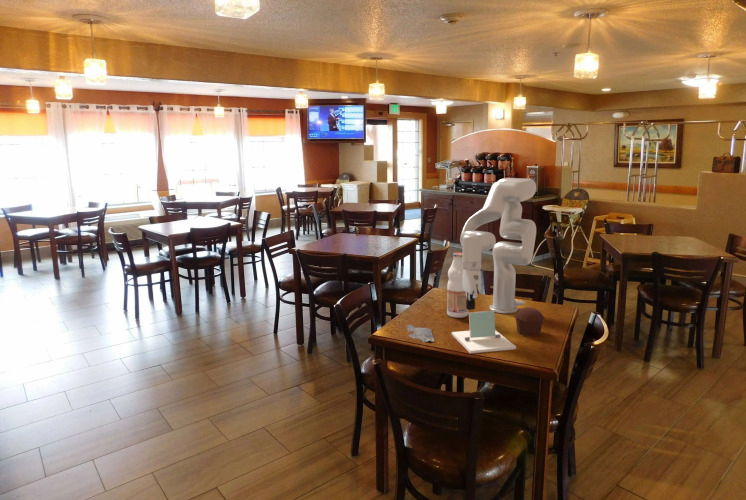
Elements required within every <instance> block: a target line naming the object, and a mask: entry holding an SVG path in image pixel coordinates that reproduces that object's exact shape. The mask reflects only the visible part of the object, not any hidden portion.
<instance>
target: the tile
mask: <svg viewBox="0 0 746 500" xmlns="http://www.w3.org/2000/svg"><path fill="white" fill-rule="evenodd" d="M495 317H496V314H495V312H494V311H491V310H483V311H482V310H481V311H473V312H468V322H469V323H468V325H469V330H468V331H470V338H476V337H487V336H495V330H496V320H495Z"/></svg>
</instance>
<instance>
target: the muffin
mask: <svg viewBox="0 0 746 500" xmlns="http://www.w3.org/2000/svg"><path fill="white" fill-rule="evenodd" d="M514 318H515V321H516V322H515V324H516V333H518V334H519V335H522V336H525V337H538V336H540V335H541V332H542V327H543V323H544V321H545V318H546V317H545V316H544V315H543V314H542V312H541V311H540V310H538V309H537V308H534V307H522V308H521V309H518V311H517V312H516V313H515V314H514Z"/></svg>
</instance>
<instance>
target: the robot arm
mask: <svg viewBox="0 0 746 500" xmlns="http://www.w3.org/2000/svg"><path fill="white" fill-rule="evenodd" d="M536 191H537V184H536V182H535V180H533V179H532V178H523V177H522V178H519V177H518V178H517V177H504V178H501V179H499V180H497V181H495V182H494V183H493V184H492V185H491V187H490V190H489V192H488V194H487V197H486V199H485V201H484V204H483V207H481V209H480V210H478V211H477V212H475V213H474V214H473V215H472V216H470V217H469V218H468V219H467V221H466V222H465V223H464V226H463V228H462V230H461V233H460V238H459V241H460V242H459V243H460V246H462V249H461V250H462V252H461V253H462V269H463V276H462V288H463V289H464V290H465V292H466V309H468V311H470V310H475V309H476V299H477V298H478V294H479V295H482V293H483V292H482V291H483V289H482V288H483V287H482V286H483V285H482V272H481V270H482V254H483V253H482V251H483V252H484V251H486V252H487V251H490V250H492V258H493V268H494V269H493V293H492V294H493V295H492V296H493V297H492V301H493V302H492V304H490V305H489V311H494V313H498V314H513V313H517V312H518V311H519V309H518V306H524V305H525V304H526V303H525V300H519V299H515V298H516V279H517V278H516V269H515V268H514V266H513V265H517V266H518V265H520V266H528V265H529V264H530V263H531V262H532V260H533V256H534V249H535V242H536V237H537V226H536V223H535V222H534V221H533V220H532V219H526V218H522V213H523V206H522V204H521V202H525V201H528V200H530V199H531V198H533V197H534V195H535V194H536ZM497 220H500V224H499V225H500V226H499V235H500V237H502V238H503V239H507V240H513V241H514V240H515V241H516V240H517V241H521V243H520V242H513V241H497V240H496V239H497V238H496V236H495V235H494V234H493V232H488V231H482V230H481V231H480V230H476V229H478V228H479V227H480V226H482V225H484V224H488V223H490V222H491V223H492V222H495V221H497ZM496 242H497V243H496Z"/></svg>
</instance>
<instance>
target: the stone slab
mask: <svg viewBox="0 0 746 500" xmlns="http://www.w3.org/2000/svg"><path fill="white" fill-rule="evenodd" d="M406 329H407V334H409V332H410V334H409V335H408V337H409V338H412V339H413V340H415V339H417V340H419V341H421V342H422V343H427V342H429V341H430V342H432V343H435V339H434V334H433V332H432V329H431V328H428V327H415V326H413V325H412V324H408V325H406ZM411 332H413V333H411Z"/></svg>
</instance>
